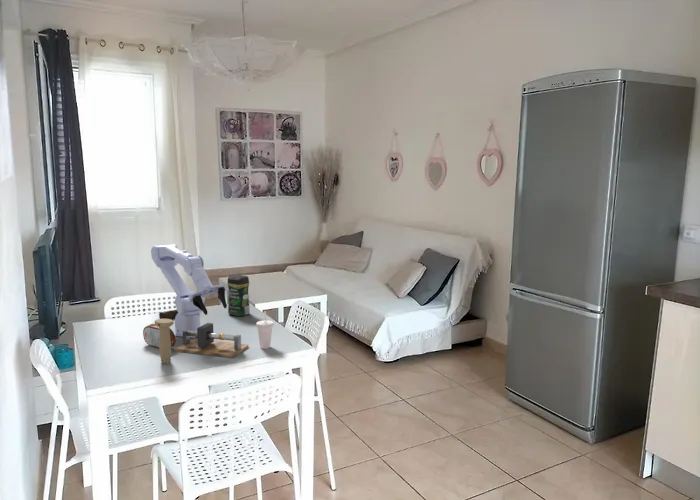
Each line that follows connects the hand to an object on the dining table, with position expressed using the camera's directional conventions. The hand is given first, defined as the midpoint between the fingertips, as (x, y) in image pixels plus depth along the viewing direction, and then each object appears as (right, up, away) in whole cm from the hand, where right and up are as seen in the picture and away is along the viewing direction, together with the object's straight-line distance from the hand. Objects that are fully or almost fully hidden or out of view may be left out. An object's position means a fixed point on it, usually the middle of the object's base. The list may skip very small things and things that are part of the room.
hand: (216, 310), depth 201 cm
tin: (-22, -14, +2) cm, 26 cm away
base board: (-2, -15, 0) cm, 15 cm away
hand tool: (-27, -8, +43) cm, 52 cm away
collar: (-4, -13, 0) cm, 13 cm away
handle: (-14, -17, -14) cm, 26 cm away
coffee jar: (-1, -7, +47) cm, 48 cm away
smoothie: (+18, -15, +3) cm, 23 cm away
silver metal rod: (-2, -15, 0) cm, 15 cm away
